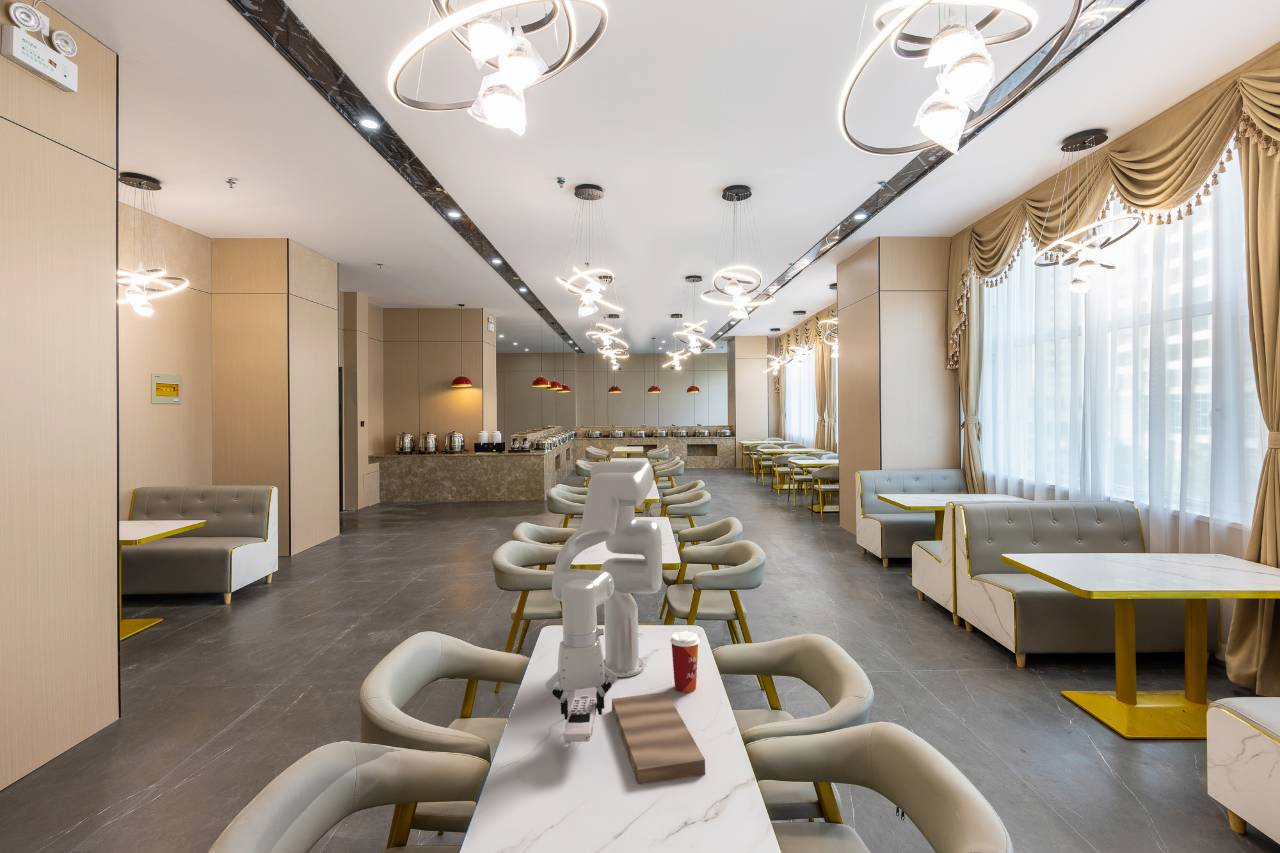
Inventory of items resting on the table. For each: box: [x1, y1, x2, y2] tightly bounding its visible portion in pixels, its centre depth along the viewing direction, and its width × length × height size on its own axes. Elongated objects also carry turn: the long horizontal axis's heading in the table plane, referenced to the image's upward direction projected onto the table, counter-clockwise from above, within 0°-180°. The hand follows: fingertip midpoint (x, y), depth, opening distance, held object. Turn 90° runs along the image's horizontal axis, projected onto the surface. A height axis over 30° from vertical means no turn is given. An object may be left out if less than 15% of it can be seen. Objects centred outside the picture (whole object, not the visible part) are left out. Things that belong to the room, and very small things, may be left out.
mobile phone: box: [563, 687, 597, 750], centre depth 137 cm, size 6×6×25 cm
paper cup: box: [669, 630, 700, 694], centre depth 162 cm, size 8×8×14 cm
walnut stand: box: [611, 691, 706, 785], centre depth 137 cm, size 30×14×3 cm, turn 13°
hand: (582, 713), depth 136 cm, fingers closed on mobile phone, 6 cm apart
